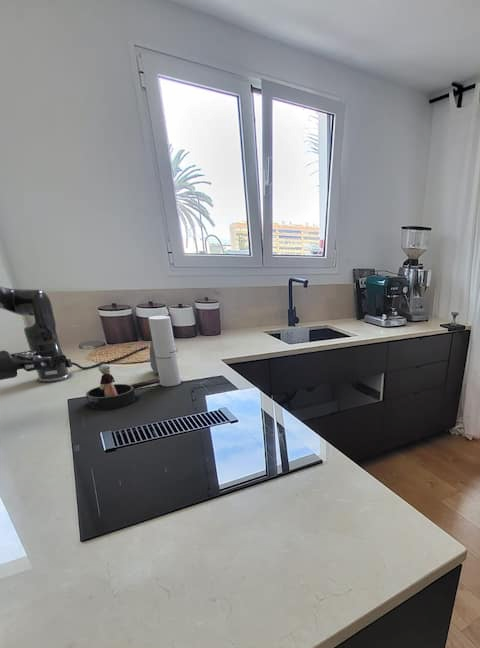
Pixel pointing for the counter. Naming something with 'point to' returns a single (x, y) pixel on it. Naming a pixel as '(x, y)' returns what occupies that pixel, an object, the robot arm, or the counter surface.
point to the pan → (122, 399)
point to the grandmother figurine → (107, 381)
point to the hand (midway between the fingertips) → (59, 355)
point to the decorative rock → (153, 359)
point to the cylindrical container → (164, 350)
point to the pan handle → (145, 383)
